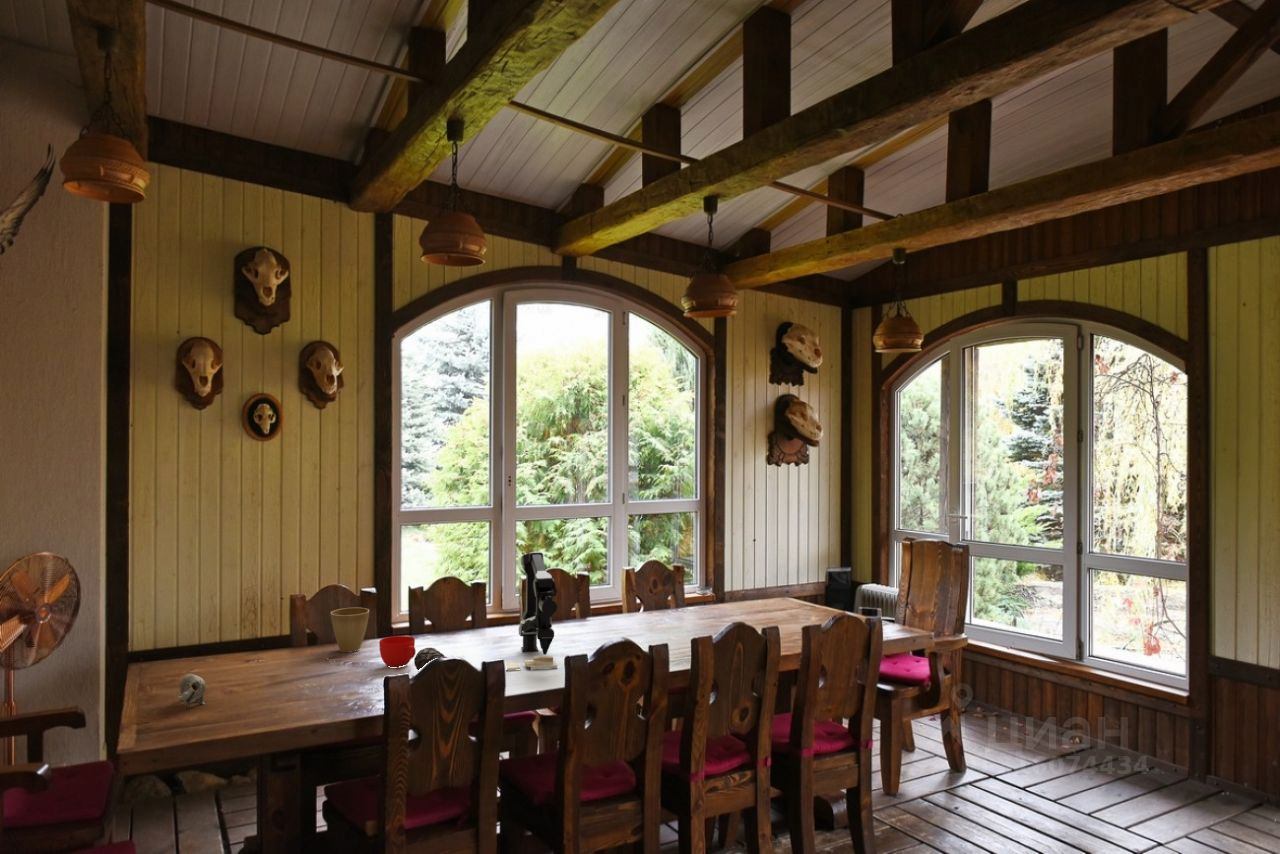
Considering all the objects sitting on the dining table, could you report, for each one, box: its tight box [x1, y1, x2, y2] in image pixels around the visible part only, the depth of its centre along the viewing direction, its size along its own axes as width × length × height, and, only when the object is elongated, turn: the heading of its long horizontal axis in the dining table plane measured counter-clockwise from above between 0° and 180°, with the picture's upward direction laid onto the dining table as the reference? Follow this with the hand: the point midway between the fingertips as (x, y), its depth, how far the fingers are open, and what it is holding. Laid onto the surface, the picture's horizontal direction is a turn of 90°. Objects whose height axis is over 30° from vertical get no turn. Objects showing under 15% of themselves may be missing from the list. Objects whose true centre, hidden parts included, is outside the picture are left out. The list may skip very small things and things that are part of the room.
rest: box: [529, 660, 558, 670], centre depth 313 cm, size 7×10×1 cm
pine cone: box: [413, 647, 448, 671], centre depth 299 cm, size 10×18×10 cm, turn 51°
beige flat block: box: [523, 655, 554, 667], centre depth 312 cm, size 5×10×2 cm, turn 102°
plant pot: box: [330, 607, 370, 653], centre depth 336 cm, size 15×15×16 cm
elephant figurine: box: [177, 673, 207, 710], centre depth 265 cm, size 8×14×15 cm
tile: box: [505, 661, 522, 671], centre depth 311 cm, size 2×7×8 cm
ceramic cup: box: [378, 635, 417, 667], centre depth 312 cm, size 13×17×10 cm
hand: (543, 651), depth 313 cm, fingers open, 9 cm apart
